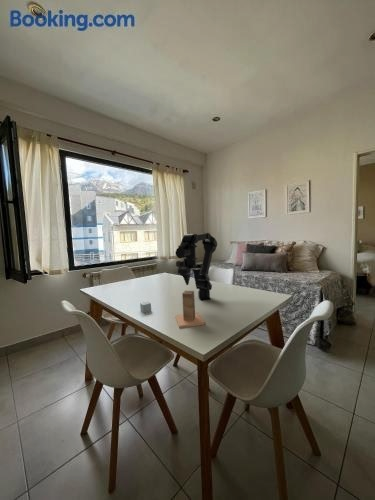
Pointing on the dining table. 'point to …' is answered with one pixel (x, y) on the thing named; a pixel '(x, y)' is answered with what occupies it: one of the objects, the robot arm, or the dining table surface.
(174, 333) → the dining table surface
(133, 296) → the dining table surface
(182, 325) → the terracotta tile
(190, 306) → the walnut block
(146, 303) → the blue-grey cube
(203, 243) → the robot arm
